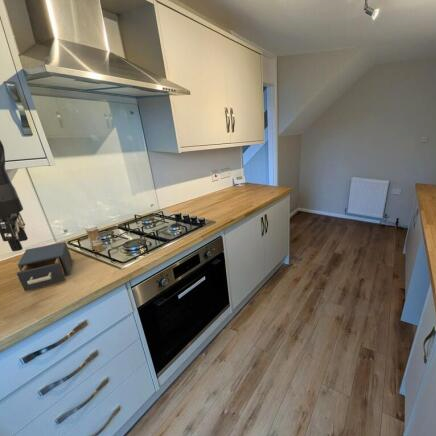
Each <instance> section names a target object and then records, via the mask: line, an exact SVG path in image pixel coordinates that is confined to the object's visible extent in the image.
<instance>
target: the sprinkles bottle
mask: <svg viewBox="0 0 436 436" xmlns="http://www.w3.org/2000/svg"><path fill="white" fill-rule="evenodd" d="M84 229H85V232H86V233H87V238H88V241H89V244H90V247H91V249H92V252H93V253H99V252H102V251H104V246H103V243H102V239H101V236H100V233H99V227H98V225H97V224H89V225H86V226H84ZM93 250H95V251H93Z"/></svg>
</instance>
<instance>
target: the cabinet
mask: <svg viewBox="0 0 436 436" xmlns="http://www.w3.org/2000/svg"><path fill="white" fill-rule="evenodd" d="M59 257H60V258H61V261H62V263H63V266H64V268H65V274H64V276H65V277H66V276H70V275H71V270H72V265H73V258H72V255H71V252H70V249H69V247H68V244H67V242H66V241H64V242H58V243H53V244H47V245H42V246H37V247H32V248H27V249H25V251H24V253H23V254H22V256H21V258H20V260H19V261H18V262H17V267H18V269H19V272H21V270H22V268H23V266H24V265H27V264H32V263H36V262H41V261H45V260H50V259H54V258H59Z"/></svg>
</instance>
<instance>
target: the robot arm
mask: <svg viewBox="0 0 436 436" xmlns="http://www.w3.org/2000/svg"><path fill="white" fill-rule="evenodd" d="M23 210H24V206H23V205H22V201H21V199H20V197H19V195H18V192H17V190H16V187H15V186H14V184H13V182H12V181H11V178H10V176H9V173H8V171H7V169H6V155H5V148H4V144H3V142H2V140H1V139H0V237H1V238H2V241H3V242H7V243H8V245H9V247H10V250H11V251H12V252H18V251H22V250H23V246H22V243H21V242H25V241H27V240H28V239H29V238H28V235H27V233H26V231H25V229H26V228H25V226H26V223H25V221H24V219H23V217H22V214H21V212H22V211H23ZM9 235H10V236H9Z"/></svg>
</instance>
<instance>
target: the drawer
mask: <svg viewBox="0 0 436 436" xmlns="http://www.w3.org/2000/svg"><path fill="white" fill-rule="evenodd" d="M64 274H65V268H64V266H63V263H62V261H61V258H60V257H59V258H54V259H50V260H45V261H41V262H36V263H32V264H27V265H24V266H23V268H22V270H21V271H18V272H16V276H17V278H18V281H19V282H20V284H21V287H22V288H23V290H24V292H28V291H32V290H36V289H39V288H43V287H47V286H51V285H54V284H59V283H62V282H65V281H66V280H67V278H66V276H64Z"/></svg>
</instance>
